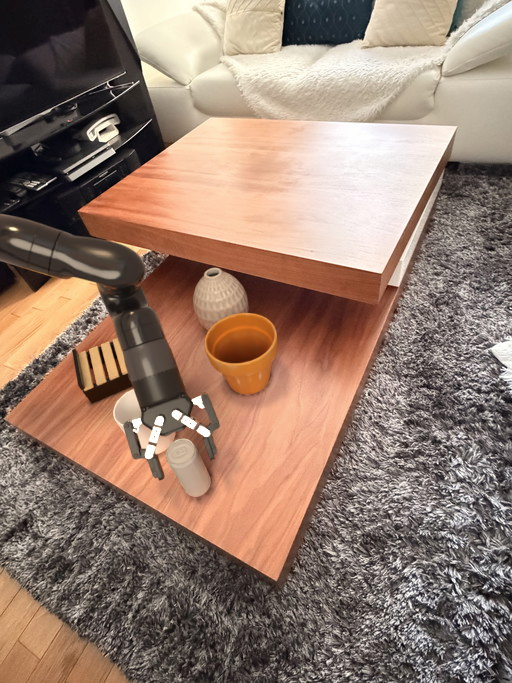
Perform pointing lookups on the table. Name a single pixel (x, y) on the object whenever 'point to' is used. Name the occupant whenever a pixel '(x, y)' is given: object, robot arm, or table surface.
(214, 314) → the vase
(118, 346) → the rack
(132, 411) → the mug
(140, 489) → the table surface
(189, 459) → the beverage can
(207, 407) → the robot arm
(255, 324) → the flower pot
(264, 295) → the table surface
